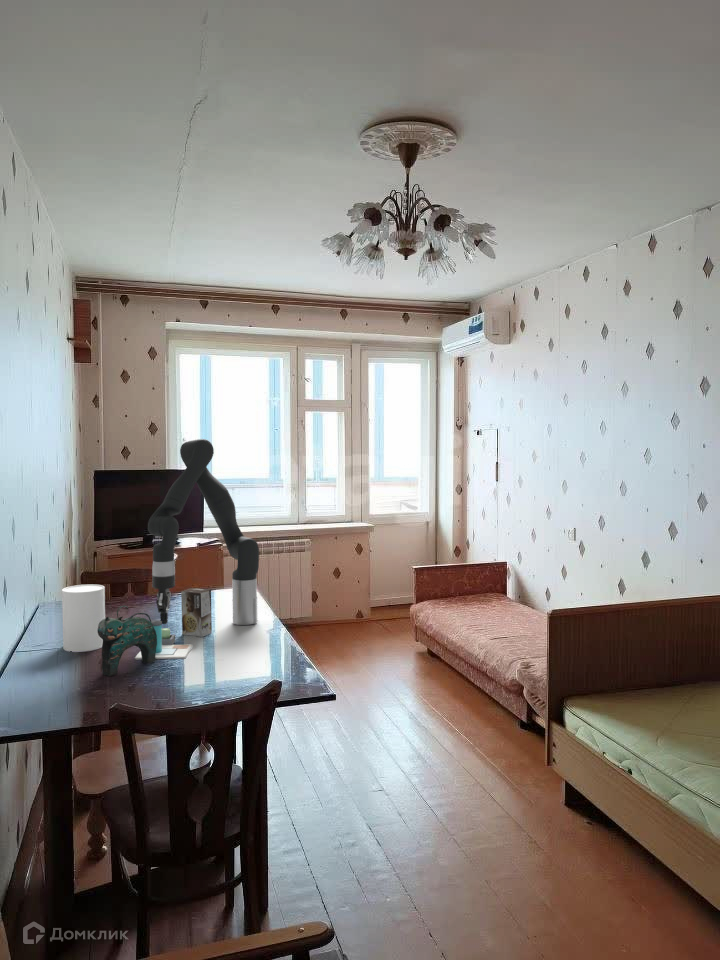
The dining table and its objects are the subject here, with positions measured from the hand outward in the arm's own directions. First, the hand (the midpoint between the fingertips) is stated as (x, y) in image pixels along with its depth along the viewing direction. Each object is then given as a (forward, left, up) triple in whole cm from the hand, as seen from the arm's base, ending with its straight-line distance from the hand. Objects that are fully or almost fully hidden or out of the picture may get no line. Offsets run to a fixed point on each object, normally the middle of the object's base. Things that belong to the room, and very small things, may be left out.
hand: (164, 623), depth 245 cm
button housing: (0, 0, -7) cm, 7 cm away
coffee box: (-9, -13, -7) cm, 17 cm away
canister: (+27, 0, -7) cm, 28 cm away
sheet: (-2, +10, -7) cm, 13 cm away
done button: (0, 0, -5) cm, 5 cm away
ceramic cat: (+6, +26, -8) cm, 28 cm away
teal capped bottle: (0, +11, -7) cm, 13 cm away
